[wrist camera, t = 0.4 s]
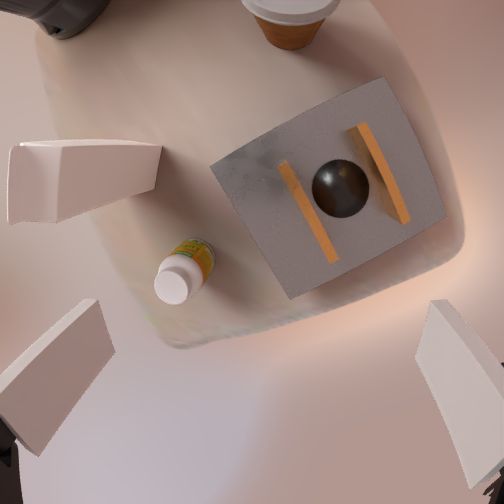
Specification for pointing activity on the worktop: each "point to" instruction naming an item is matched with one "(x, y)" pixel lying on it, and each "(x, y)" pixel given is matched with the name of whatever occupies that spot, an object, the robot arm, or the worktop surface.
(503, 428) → the robot arm
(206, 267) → the supplement bottle
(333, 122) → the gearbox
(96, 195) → the milk
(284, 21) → the disposable coffee cup
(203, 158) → the worktop surface
